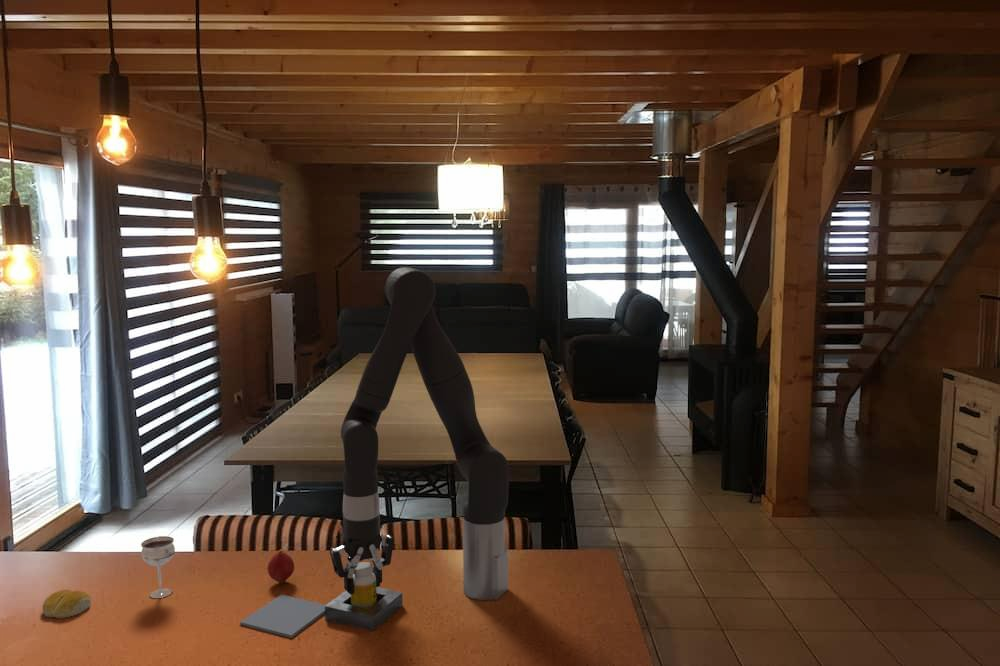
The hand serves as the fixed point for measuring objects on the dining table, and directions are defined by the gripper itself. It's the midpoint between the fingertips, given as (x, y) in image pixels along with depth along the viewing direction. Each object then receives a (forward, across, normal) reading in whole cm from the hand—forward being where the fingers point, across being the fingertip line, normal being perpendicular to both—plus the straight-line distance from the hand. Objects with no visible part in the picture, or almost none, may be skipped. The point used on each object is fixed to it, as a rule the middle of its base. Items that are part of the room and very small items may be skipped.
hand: (363, 588), depth 165 cm
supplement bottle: (+5, 0, 0) cm, 5 cm away
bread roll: (+5, -52, +36) cm, 64 cm away
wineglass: (+5, -34, +32) cm, 47 cm away
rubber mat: (+5, -14, +7) cm, 17 cm away
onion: (+5, -10, +22) cm, 25 cm away
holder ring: (+5, 0, -1) cm, 5 cm away
